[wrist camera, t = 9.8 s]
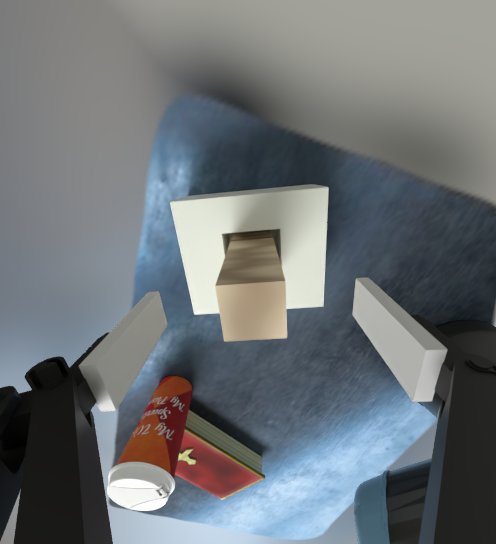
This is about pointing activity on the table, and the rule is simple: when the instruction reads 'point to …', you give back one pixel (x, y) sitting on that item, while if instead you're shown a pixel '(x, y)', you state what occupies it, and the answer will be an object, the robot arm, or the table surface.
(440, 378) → the robot arm
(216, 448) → the hardcover book
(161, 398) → the paper cup
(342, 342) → the table surface
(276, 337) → the maple peg
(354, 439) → the table surface
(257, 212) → the socket block
